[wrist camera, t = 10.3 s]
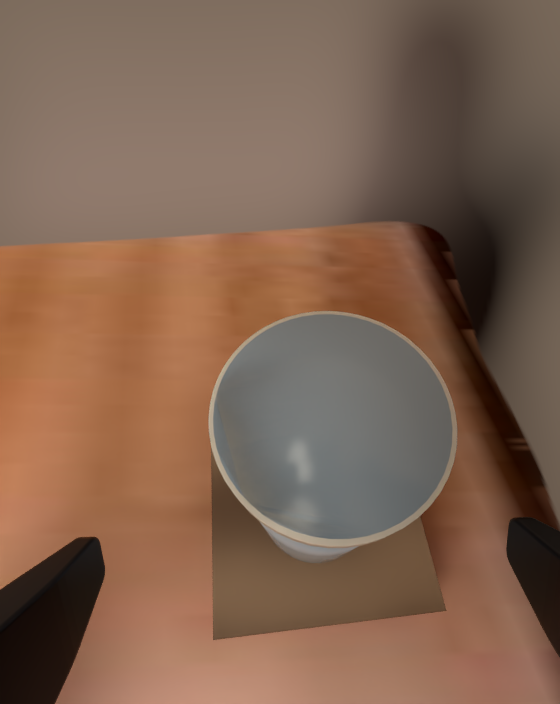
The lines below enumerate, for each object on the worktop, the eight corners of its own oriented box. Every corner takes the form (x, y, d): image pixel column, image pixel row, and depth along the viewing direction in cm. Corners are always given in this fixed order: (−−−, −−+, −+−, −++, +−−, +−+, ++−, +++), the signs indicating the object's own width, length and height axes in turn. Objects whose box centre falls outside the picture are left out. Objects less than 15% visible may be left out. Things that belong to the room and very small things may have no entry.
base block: (426, 606, 19) (446, 610, 16) (225, 631, 19) (213, 639, 16) (378, 417, 24) (387, 397, 21) (220, 435, 24) (210, 418, 21)
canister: (379, 560, 17) (496, 533, 7) (261, 570, 17) (204, 556, 7) (358, 444, 20) (419, 302, 10) (256, 453, 20) (211, 319, 10)
